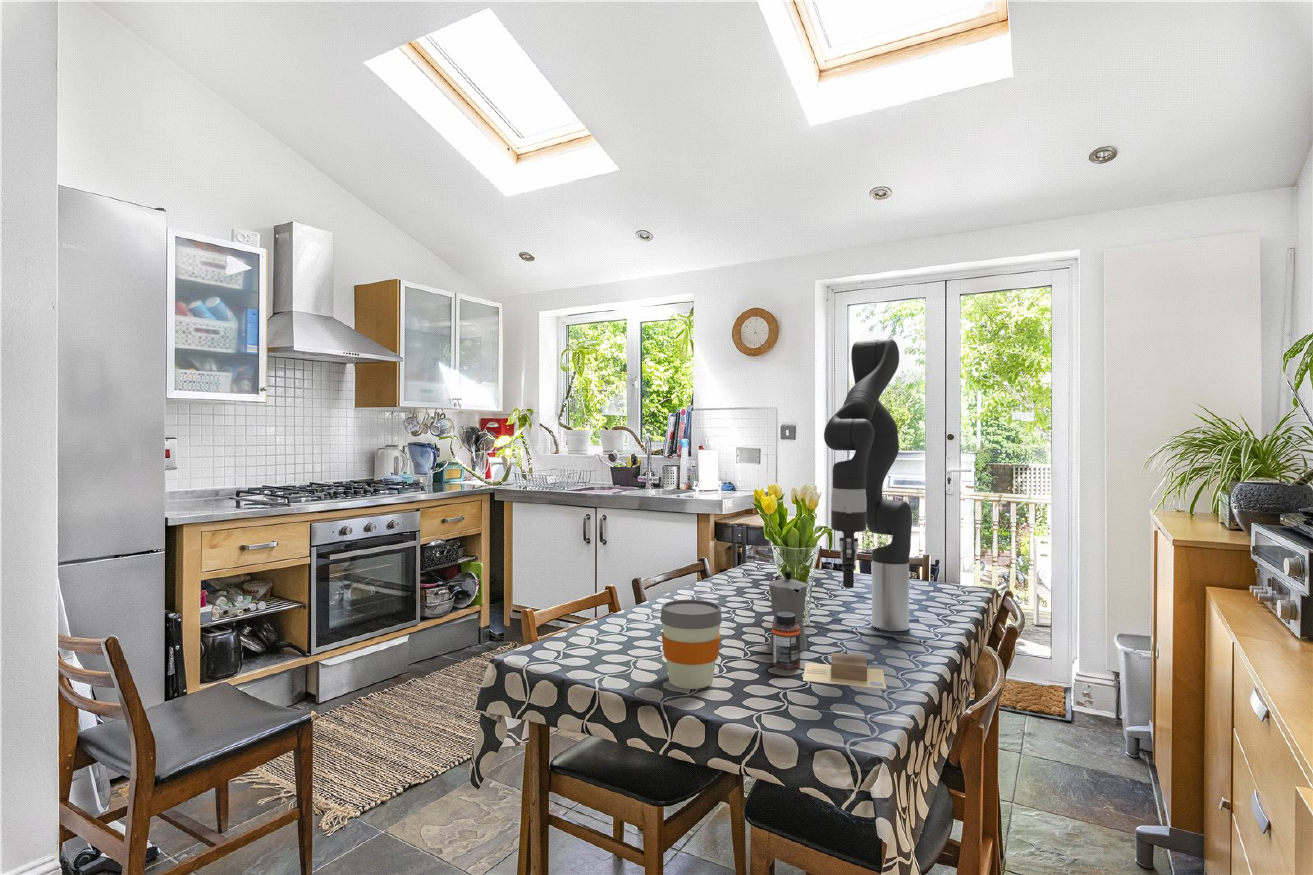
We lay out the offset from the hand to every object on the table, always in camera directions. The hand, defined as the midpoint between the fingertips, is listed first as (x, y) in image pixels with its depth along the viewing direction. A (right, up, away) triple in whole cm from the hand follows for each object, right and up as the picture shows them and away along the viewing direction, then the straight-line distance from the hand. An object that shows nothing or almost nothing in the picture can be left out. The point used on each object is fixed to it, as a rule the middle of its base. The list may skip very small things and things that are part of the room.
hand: (848, 587), depth 146 cm
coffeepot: (-12, -17, +10) cm, 23 cm away
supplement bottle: (-14, -17, -3) cm, 22 cm away
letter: (-4, -16, -9) cm, 19 cm away
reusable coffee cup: (-36, -17, -12) cm, 41 cm away
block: (-2, -16, -9) cm, 19 cm away
